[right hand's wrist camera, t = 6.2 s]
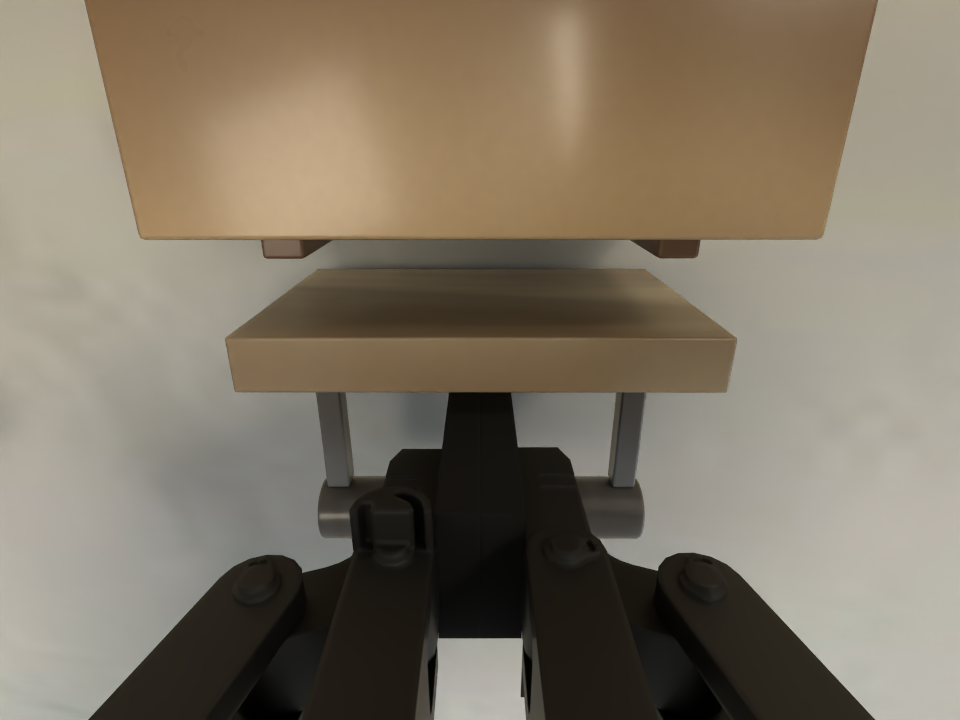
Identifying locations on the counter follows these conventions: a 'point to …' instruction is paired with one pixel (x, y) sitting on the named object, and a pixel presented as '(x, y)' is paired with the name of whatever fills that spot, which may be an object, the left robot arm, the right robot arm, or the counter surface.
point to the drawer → (483, 354)
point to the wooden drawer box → (481, 116)
